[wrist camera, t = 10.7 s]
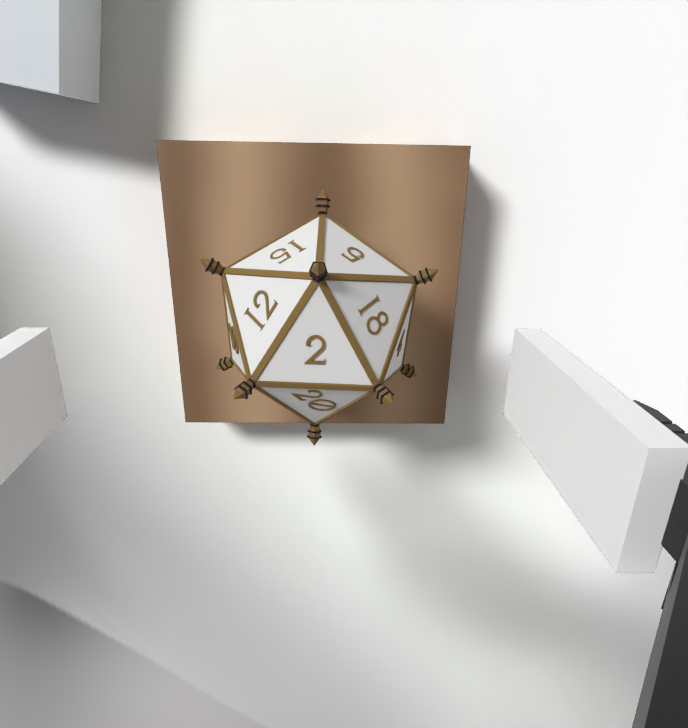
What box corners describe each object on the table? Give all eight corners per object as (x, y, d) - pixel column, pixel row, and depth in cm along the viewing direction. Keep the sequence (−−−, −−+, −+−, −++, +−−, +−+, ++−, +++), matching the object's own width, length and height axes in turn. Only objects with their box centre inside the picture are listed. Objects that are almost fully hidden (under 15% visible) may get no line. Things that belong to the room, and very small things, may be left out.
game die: (359, 285, 28) (492, 407, 22) (219, 372, 26) (319, 530, 20) (317, 123, 21) (493, 234, 15) (123, 227, 19) (231, 400, 13)
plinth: (199, 396, 29) (185, 422, 26) (176, 142, 24) (156, 140, 22) (433, 398, 29) (444, 423, 27) (455, 147, 25) (470, 145, 22)
